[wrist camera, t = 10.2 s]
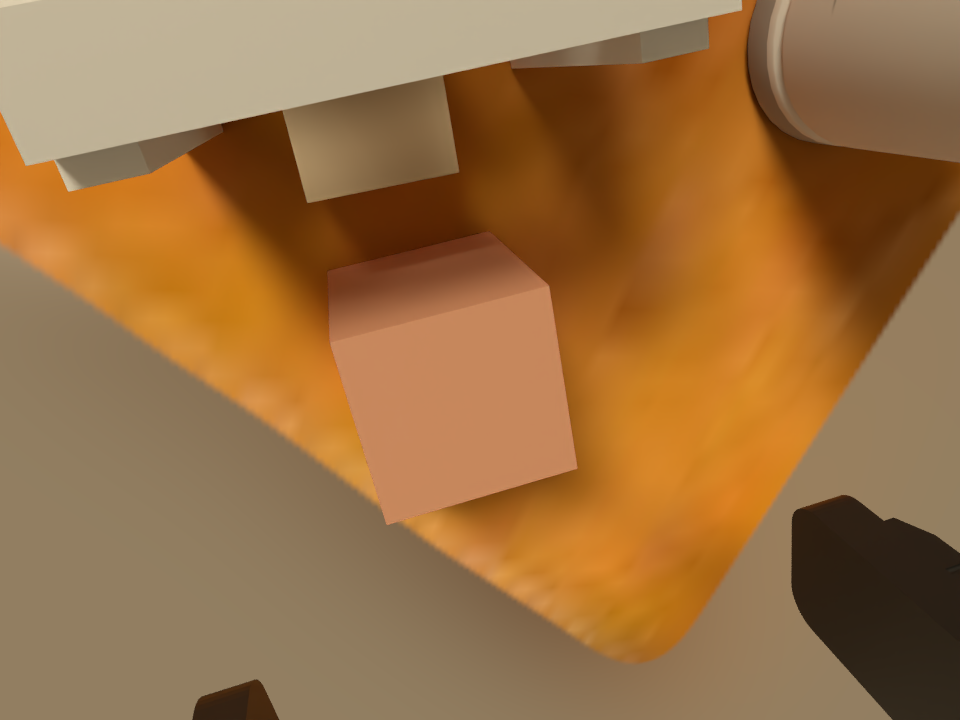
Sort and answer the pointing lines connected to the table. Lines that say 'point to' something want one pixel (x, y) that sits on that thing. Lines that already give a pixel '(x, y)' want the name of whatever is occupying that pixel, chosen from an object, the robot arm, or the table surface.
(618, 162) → the table surface
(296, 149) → the rod
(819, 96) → the travel mug
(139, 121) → the tunnel
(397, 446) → the block
